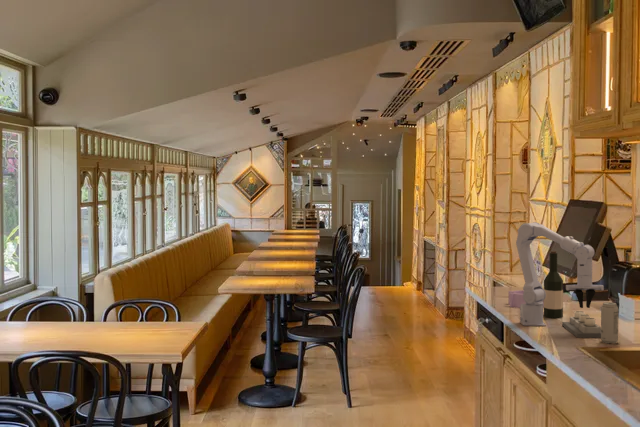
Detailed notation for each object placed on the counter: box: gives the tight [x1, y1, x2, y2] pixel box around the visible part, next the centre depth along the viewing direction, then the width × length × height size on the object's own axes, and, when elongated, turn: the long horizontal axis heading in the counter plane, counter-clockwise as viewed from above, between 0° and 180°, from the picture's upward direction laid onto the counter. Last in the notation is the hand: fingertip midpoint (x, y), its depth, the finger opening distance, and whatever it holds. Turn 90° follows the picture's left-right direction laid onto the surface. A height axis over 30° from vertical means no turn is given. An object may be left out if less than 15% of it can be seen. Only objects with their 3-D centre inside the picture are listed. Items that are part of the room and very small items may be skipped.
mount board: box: [561, 316, 601, 339], centre depth 275 cm, size 12×22×4 cm, turn 175°
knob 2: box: [579, 313, 591, 322], centre depth 275 cm, size 4×4×3 cm
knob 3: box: [585, 317, 596, 326], centre depth 268 cm, size 4×4×3 cm
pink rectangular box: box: [507, 290, 544, 309], centre depth 332 cm, size 20×12×7 cm, turn 79°
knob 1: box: [573, 310, 586, 319], centre depth 282 cm, size 4×4×3 cm
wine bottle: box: [543, 250, 564, 319], centre depth 305 cm, size 8×8×30 cm
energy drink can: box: [600, 301, 619, 344], centre depth 257 cm, size 6×6×15 cm
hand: (584, 307), depth 275 cm, fingers open, 2 cm apart
